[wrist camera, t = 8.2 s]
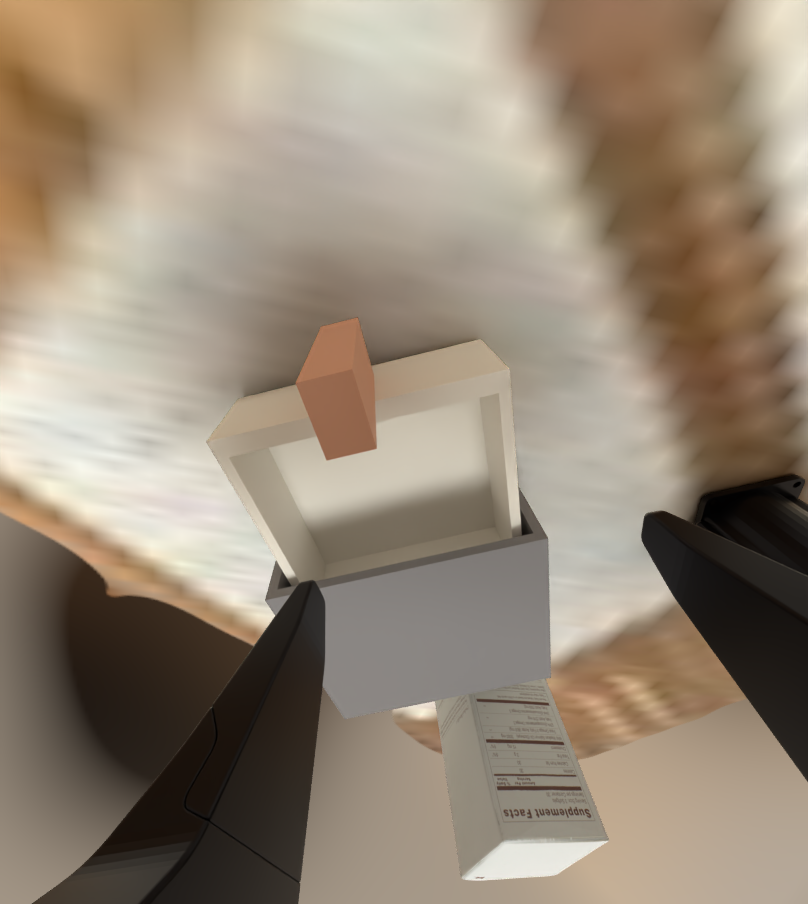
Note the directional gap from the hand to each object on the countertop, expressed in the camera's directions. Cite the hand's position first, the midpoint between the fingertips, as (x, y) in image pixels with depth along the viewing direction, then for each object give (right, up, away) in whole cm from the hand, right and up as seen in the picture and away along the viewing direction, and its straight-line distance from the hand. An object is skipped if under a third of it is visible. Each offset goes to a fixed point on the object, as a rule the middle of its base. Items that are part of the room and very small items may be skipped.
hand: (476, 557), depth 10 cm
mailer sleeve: (-1, -5, +16) cm, 17 cm away
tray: (-3, +3, +11) cm, 11 cm away
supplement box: (+5, -16, +24) cm, 29 cm away
